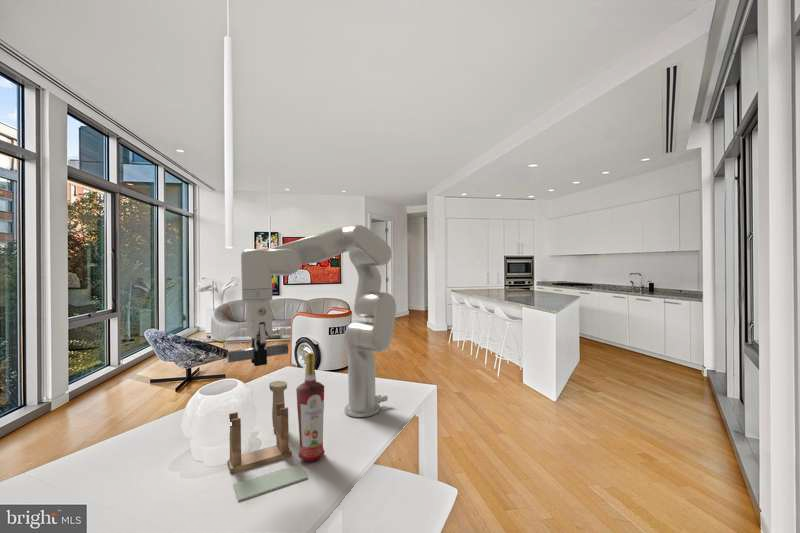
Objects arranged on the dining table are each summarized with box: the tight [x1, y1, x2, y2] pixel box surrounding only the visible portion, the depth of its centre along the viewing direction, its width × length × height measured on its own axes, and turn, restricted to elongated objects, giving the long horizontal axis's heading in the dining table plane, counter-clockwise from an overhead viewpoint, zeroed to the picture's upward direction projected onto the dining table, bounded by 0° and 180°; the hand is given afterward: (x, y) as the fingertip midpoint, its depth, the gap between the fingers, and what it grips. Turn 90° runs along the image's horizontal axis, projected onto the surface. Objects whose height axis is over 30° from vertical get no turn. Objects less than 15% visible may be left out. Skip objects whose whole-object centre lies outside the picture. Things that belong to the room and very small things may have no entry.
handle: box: [268, 380, 288, 434], centre depth 114 cm, size 5×6×15 cm
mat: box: [233, 463, 308, 503], centre depth 87 cm, size 16×7×1 cm, turn 122°
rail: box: [226, 343, 289, 364], centre depth 97 cm, size 15×3×3 cm, turn 122°
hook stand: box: [226, 402, 293, 475], centre depth 97 cm, size 15×6×13 cm, turn 122°
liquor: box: [296, 352, 325, 463], centre depth 97 cm, size 7×7×28 cm
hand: (259, 363), depth 97 cm, fingers closed on rail, 2 cm apart
